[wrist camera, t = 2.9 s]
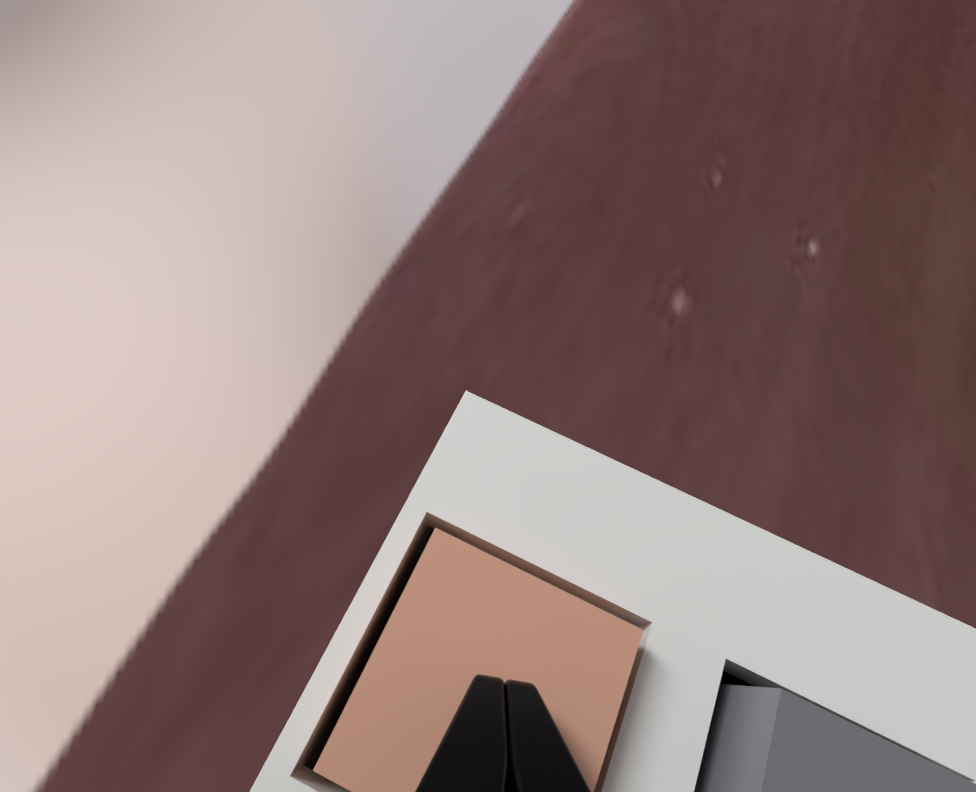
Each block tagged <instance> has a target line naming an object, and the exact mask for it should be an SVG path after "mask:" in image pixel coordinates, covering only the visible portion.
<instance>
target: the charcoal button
mask: <svg viewBox="0 0 976 792" xmlns="http://www.w3.org/2000/svg"><path fill="white" fill-rule="evenodd" d="M694 792H976V784H975V783H973V782H971V781H969V780H967V779H965V778H963V777H961V776H958V775H956V774H954V773H952V772H950V771H948V770H946V769H944V768H942V767H940V766H938V765H936V764H934V763H932V762H930V761H928V760H926V759H924V758H922V757H920V756H918V755H916V754H914V753H912V752H910V751H908V750H906V749H903V748H901V747H899V746H897V745H895V744H893V743H891V742H889V741H887V740H885V739H883V738H881V737H879V736H877V735H875V734H873V733H871V732H869V731H867V730H865V729H863V728H861V727H859V726H857V725H855V724H853V723H851V722H848V721H846V720H844V719H842V718H840V717H838V716H836V715H834V714H832V713H830V712H828V711H826V710H824V709H822V708H820V707H818V706H816V705H814V704H812V703H810V702H808V701H806V700H804V699H802V698H800V697H798V696H795V695H793V694H791V693H789V692H787V691H785V690H783V689H781V688H767V687H753V686H739V685H725V684H720V685H719V689H718V693H717V697H716V702H715V706H714V710H713V714H712V718H711V722H710V727H709V731H708V735H707V739H706V743H705V748H704V752H703V756H702V760H701V764H700V768H699V773H698V777H697V781H696V785H695V789H694Z"/></svg>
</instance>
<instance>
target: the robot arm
mask: <svg viewBox="0 0 976 792" xmlns="http://www.w3.org/2000/svg"><path fill="white" fill-rule="evenodd" d="M415 792H591V790H590V788H589V786H588V784H587V782H586V780H585V778H584V777H583V775H582V773H581V771H580V769H579V767H578V765H577V763H576V761H575V759H574V758H573V756H572V754H571V752H570V750H569V748H568V746H567V744H566V742H565V741H564V739H563V737H562V735H561V733H560V731H559V729H558V727H557V725H556V724H555V722H554V720H553V718H552V716H551V714H550V712H549V710H548V708H547V707H546V705H545V703H544V701H543V699H542V697H541V695H540V693H539V691H538V690H537V688H536V686H535V685H534V684H532V683H529V682H523V681H517V680H511V679H509V680H507V681H505V683H504V681H503V679H502V678H499V677H493V676H488V675H482V674H477V675H476V676H475V677H474V678H473V680H472V682H471V684H470V686H469V687H468V689H467V691H466V693H465V695H464V697H463V699H462V701H461V703H460V705H459V707H458V709H457V711H456V713H455V715H454V717H453V719H452V721H451V722H450V724H449V726H448V728H447V730H446V732H445V734H444V736H443V738H442V740H441V742H440V744H439V746H438V748H437V750H436V752H435V754H434V756H433V757H432V759H431V761H430V763H429V765H428V767H427V769H426V771H425V773H424V775H423V777H422V779H421V781H420V783H419V785H418V787H417V789H416V791H415Z"/></svg>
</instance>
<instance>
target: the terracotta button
mask: <svg viewBox="0 0 976 792" xmlns="http://www.w3.org/2000/svg"><path fill="white" fill-rule="evenodd" d="M642 633H643V629H641V628H639V627H637V626H635V625H633V624H631V623H628V622H626V621H624V620H622V619H620V618H618V617H616V616H614V615H612V614H610V613H608V612H606V611H604V610H602V609H600V608H598V607H596V606H594V605H592V604H590V603H588V602H586V601H584V600H582V599H580V598H578V597H576V596H574V595H572V594H570V593H568V592H566V591H563V590H561V589H559V588H557V587H555V586H553V585H551V584H549V583H547V582H545V581H543V580H541V579H539V578H537V577H535V576H533V575H531V574H529V573H527V572H525V571H523V570H521V569H519V568H517V567H515V566H513V565H511V564H509V563H507V562H505V561H503V560H500V559H498V558H496V557H494V556H492V555H490V554H488V553H486V552H484V551H482V550H480V549H478V548H476V547H474V546H472V545H470V544H468V543H466V542H464V541H462V540H460V539H458V538H456V537H454V536H452V535H450V534H448V533H446V532H444V531H442V530H440V529H438V528H435V529H434V531H433V533H432V535H431V537H430V539H429V541H428V543H427V545H426V547H425V549H424V551H423V553H422V555H421V557H420V559H419V561H418V563H417V565H416V567H415V569H414V571H413V573H412V575H411V577H410V579H409V581H408V583H407V585H406V587H405V589H404V591H403V593H402V595H401V597H400V599H399V601H398V603H397V605H396V607H395V609H394V611H393V612H392V614H391V616H390V618H389V620H388V622H387V624H386V626H385V628H384V630H383V632H382V634H381V636H380V638H379V640H378V642H377V644H376V646H375V648H374V650H373V652H372V654H371V656H370V658H369V660H368V662H367V664H366V666H365V668H364V670H363V672H362V674H361V676H360V678H359V680H358V682H357V684H356V686H355V688H354V690H353V692H352V694H351V696H350V698H349V700H348V702H347V704H346V706H345V708H344V710H343V712H342V714H341V716H340V718H339V720H338V722H337V724H336V726H335V728H334V730H333V732H332V734H331V736H330V738H329V740H328V742H327V744H326V746H325V747H324V749H323V751H322V753H321V755H320V757H319V759H318V761H317V763H316V765H315V767H314V769H313V771H314V772H316V773H318V774H320V775H321V776H323V777H325V778H327V779H329V780H331V781H332V782H334V783H336V784H338V785H340V786H342V787H344V788H345V789H347V790H349V791H351V792H415V791H416V789H417V787H418V785H419V783H420V781H421V779H422V777H423V775H424V773H425V771H426V769H427V767H428V765H429V763H430V761H431V759H432V757H433V756H434V754H435V752H436V750H437V748H438V746H439V744H440V742H441V740H442V738H443V736H444V734H445V732H446V730H447V728H448V726H449V724H450V722H451V721H452V719H453V717H454V715H455V713H456V711H457V709H458V707H459V705H460V703H461V701H462V699H463V697H464V695H465V693H466V691H467V689H468V687H469V686H470V684H471V682H472V680H473V678H474V677H475V676H476V675H477V674H482V675H488V676H493V677H499V678H502V679H503V681H504V683H505V681H507V680H509V679H511V680H517V681H523V682H529V683H532V684H534V685H535V686H536V688H537V690H538V691H539V693H540V695H541V697H542V699H543V701H544V703H545V705H546V707H547V708H548V710H549V712H550V714H551V716H552V718H553V720H554V722H555V724H556V725H557V727H558V729H559V731H560V733H561V735H562V737H563V739H564V741H565V742H566V744H567V746H568V748H569V750H570V752H571V754H572V756H573V758H574V759H575V761H576V763H577V765H578V767H579V769H580V771H581V773H582V775H583V777H584V778H585V780H586V782H587V784H588V786H589V788H590V790H591V792H594V790H595V787H596V783H597V780H598V777H599V774H600V770H601V767H602V764H603V761H604V757H605V754H606V751H607V748H608V744H609V741H610V738H611V735H612V731H613V728H614V725H615V722H616V718H617V715H618V712H619V708H620V705H621V702H622V699H623V695H624V692H625V689H626V686H627V682H628V679H629V676H630V673H631V669H632V666H633V663H634V660H635V656H636V653H637V650H638V646H639V643H640V640H641V637H642Z"/></svg>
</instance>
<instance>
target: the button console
mask: <svg viewBox="0 0 976 792" xmlns="http://www.w3.org/2000/svg"><path fill="white" fill-rule="evenodd" d="M435 528H438V529H440V530H442V531H444V532H446V533H448V534H450V535H452V536H454V537H456V538H458V539H460V540H462V541H464V542H466V543H468V544H470V545H472V546H474V547H476V548H478V549H480V550H482V551H484V552H486V553H488V554H490V555H492V556H494V557H496V558H498V559H500V560H503V561H505V562H507V563H509V564H511V565H513V566H515V567H517V568H519V569H521V570H523V571H525V572H527V573H529V574H531V575H533V576H535V577H537V578H539V579H541V580H543V581H545V582H547V583H549V584H551V585H553V586H555V587H557V588H559V589H561V590H563V591H566V592H568V593H570V594H572V595H574V596H576V597H578V598H580V599H582V600H584V601H586V602H588V603H590V604H592V605H594V606H596V607H598V608H600V609H602V610H604V611H606V612H608V613H610V614H612V615H614V616H616V617H618V618H620V619H622V620H624V621H626V622H628V623H631V624H633V625H635V626H637V627H639V628H641V629H643V633H642V637H641V640H640V643H639V646H638V650H637V653H636V656H635V660H634V663H633V666H632V669H631V673H630V676H629V679H628V682H627V686H626V689H625V692H624V695H623V699H622V702H621V705H620V708H619V712H618V715H617V718H616V722H615V725H614V728H613V731H612V735H611V738H610V741H609V744H608V748H607V751H606V754H605V757H604V761H603V764H602V767H601V770H600V774H599V777H598V780H597V783H596V787H595V790H594V792H694V789H695V785H696V781H697V777H698V773H699V768H700V764H701V760H702V756H703V752H704V748H705V743H706V739H707V735H708V731H709V727H710V722H711V718H712V714H713V710H714V706H715V702H716V697H717V693H718V689H719V685H720V681H721V676H722V672H723V671H725V672H727V673H729V674H731V675H733V676H735V677H737V678H739V679H741V680H743V681H745V682H747V683H749V684H751V685H753V686H755V687H767V688H781V689H783V690H785V691H787V692H789V693H791V694H793V695H795V696H798V697H800V698H802V699H804V700H806V701H808V702H810V703H812V704H814V705H816V706H818V707H820V708H822V709H824V710H826V711H828V712H830V713H832V714H834V715H836V716H838V717H840V718H842V719H844V720H846V721H848V722H851V723H853V724H855V725H857V726H859V727H861V728H863V729H865V730H867V731H869V732H871V733H873V734H875V735H877V736H879V737H881V738H883V739H885V740H887V741H889V742H891V743H893V744H895V745H897V746H899V747H901V748H903V749H906V750H908V751H910V752H912V753H914V754H916V755H918V756H920V757H922V758H924V759H926V760H928V761H930V762H932V763H934V764H936V765H938V766H940V767H942V768H944V769H946V770H948V771H950V772H952V773H954V774H956V775H958V776H961V777H963V778H965V779H967V780H969V781H971V782H973V783H975V784H976V629H975V628H973V627H971V626H969V625H966V624H964V623H962V622H960V621H958V620H956V619H954V618H951V617H949V616H947V615H945V614H943V613H941V612H939V611H937V610H934V609H932V608H930V607H928V606H926V605H924V604H922V603H919V602H917V601H915V600H913V599H911V598H909V597H907V596H904V595H902V594H900V593H898V592H896V591H894V590H892V589H889V588H887V587H885V586H883V585H881V584H879V583H877V582H874V581H872V580H870V579H868V578H866V577H864V576H862V575H859V574H857V573H855V572H853V571H851V570H849V569H847V568H844V567H842V566H840V565H838V564H836V563H834V562H832V561H829V560H827V559H825V558H823V557H821V556H819V555H817V554H814V553H812V552H810V551H808V550H806V549H804V548H802V547H799V546H797V545H795V544H793V543H791V542H789V541H787V540H784V539H782V538H780V537H778V536H776V535H774V534H772V533H770V532H767V531H765V530H763V529H761V528H759V527H757V526H755V525H752V524H750V523H748V522H746V521H744V520H742V519H740V518H737V517H735V516H733V515H731V514H729V513H727V512H725V511H722V510H720V509H718V508H716V507H714V506H712V505H710V504H707V503H705V502H703V501H701V500H699V499H697V498H695V497H692V496H690V495H688V494H686V493H684V492H682V491H680V490H677V489H675V488H673V487H671V486H669V485H667V484H665V483H662V482H660V481H658V480H656V479H654V478H652V477H650V476H647V475H645V474H643V473H641V472H639V471H637V470H635V469H632V468H630V467H628V466H626V465H624V464H622V463H620V462H618V461H615V460H613V459H611V458H609V457H607V456H605V455H603V454H600V453H598V452H596V451H594V450H592V449H590V448H588V447H585V446H583V445H581V444H579V443H577V442H575V441H573V440H570V439H568V438H566V437H564V436H562V435H560V434H558V433H555V432H553V431H551V430H549V429H547V428H545V427H543V426H540V425H538V424H536V423H534V422H532V421H530V420H528V419H525V418H523V417H521V416H519V415H517V414H515V413H513V412H510V411H508V410H506V409H504V408H502V407H500V406H498V405H495V404H493V403H491V402H489V401H487V400H485V399H483V398H480V397H478V396H476V395H474V394H472V393H470V392H468V391H465V393H464V395H463V397H462V399H461V401H460V402H459V404H458V406H457V408H456V410H455V412H454V414H453V415H452V417H451V419H450V421H449V423H448V425H447V427H446V428H445V430H444V432H443V434H442V436H441V438H440V440H439V441H438V443H437V445H436V447H435V449H434V451H433V453H432V454H431V456H430V458H429V460H428V462H427V464H426V466H425V467H424V469H423V471H422V473H421V475H420V477H419V478H418V480H417V482H416V484H415V486H414V488H413V490H412V491H411V493H410V495H409V497H408V499H407V501H406V503H405V504H404V506H403V508H402V510H401V512H400V514H399V516H398V517H397V519H396V521H395V523H394V525H393V527H392V529H391V530H390V532H389V534H388V536H387V538H386V540H385V542H384V543H383V545H382V547H381V549H380V551H379V553H378V555H377V556H376V558H375V560H374V562H373V564H372V566H371V568H370V569H369V571H368V573H367V575H366V577H365V579H364V580H363V582H362V584H361V586H360V588H359V590H358V592H357V593H356V595H355V597H354V599H353V601H352V603H351V605H350V606H349V608H348V610H347V612H346V614H345V616H344V618H343V619H342V621H341V623H340V625H339V627H338V629H337V631H336V632H335V634H334V636H333V638H332V640H331V642H330V644H329V645H328V647H327V649H326V651H325V653H324V655H323V657H322V658H321V660H320V662H319V664H318V666H317V668H316V669H315V671H314V673H313V675H312V677H311V679H310V681H309V682H308V684H307V686H306V688H305V690H304V692H303V694H302V695H301V697H300V699H299V701H298V703H297V705H296V707H295V708H294V710H293V712H292V714H291V716H290V718H289V720H288V721H287V723H286V725H285V727H284V729H283V731H282V733H281V734H280V736H279V738H278V740H277V742H276V744H275V746H274V747H273V749H272V751H271V753H270V755H269V757H268V759H267V760H266V762H265V764H264V766H263V768H262V770H261V771H260V773H259V775H258V777H257V779H256V781H255V783H254V784H253V786H252V788H251V790H250V792H351V791H349V790H347V789H345V788H344V787H342V786H340V785H338V784H336V783H334V782H332V781H331V780H329V779H327V778H325V777H323V776H321V775H320V774H318V773H316V772H314V771H313V769H314V767H315V765H316V763H317V761H318V759H319V757H320V755H321V753H322V751H323V749H324V747H325V746H326V744H327V742H328V740H329V738H330V736H331V734H332V732H333V730H334V728H335V726H336V724H337V722H338V720H339V718H340V716H341V714H342V712H343V710H344V708H345V706H346V704H347V702H348V700H349V698H350V696H351V694H352V692H353V690H354V688H355V686H356V684H357V682H358V680H359V678H360V676H361V674H362V672H363V670H364V668H365V666H366V664H367V662H368V660H369V658H370V656H371V654H372V652H373V650H374V648H375V646H376V644H377V642H378V640H379V638H380V636H381V634H382V632H383V630H384V628H385V626H386V624H387V622H388V620H389V618H390V616H391V614H392V612H393V611H394V609H395V607H396V605H397V603H398V601H399V599H400V597H401V595H402V593H403V591H404V589H405V587H406V585H407V583H408V581H409V579H410V577H411V575H412V573H413V571H414V569H415V567H416V565H417V563H418V561H419V559H420V557H421V555H422V553H423V551H424V549H425V547H426V545H427V543H428V541H429V539H430V537H431V535H432V533H433V531H434V529H435Z"/></svg>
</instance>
